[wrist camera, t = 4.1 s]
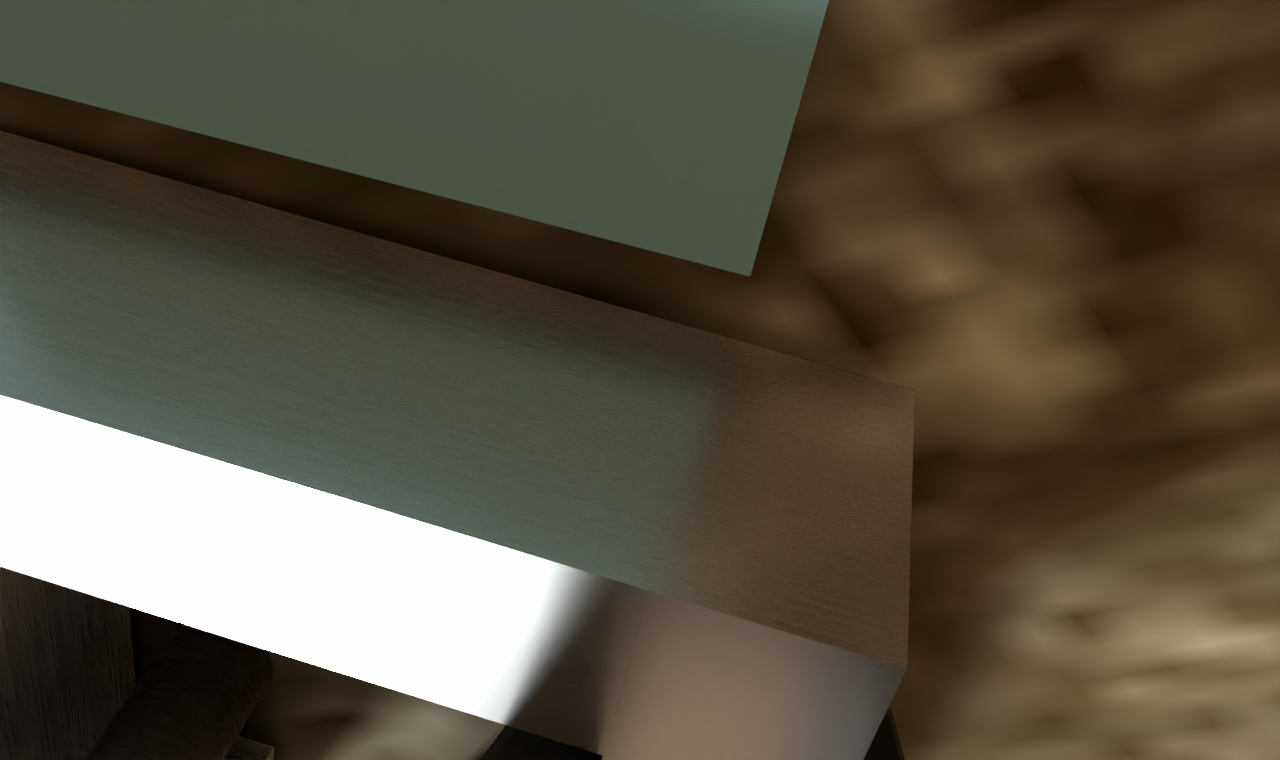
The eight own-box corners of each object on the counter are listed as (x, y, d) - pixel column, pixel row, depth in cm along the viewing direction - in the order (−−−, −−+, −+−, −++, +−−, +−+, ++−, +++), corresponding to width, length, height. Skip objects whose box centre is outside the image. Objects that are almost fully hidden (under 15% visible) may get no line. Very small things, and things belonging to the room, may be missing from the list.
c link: (31, 746, 17) (-156, 971, 14) (-79, 108, 11) (-429, 264, 8) (683, 958, 16) (628, 1242, 13) (914, 390, 11) (906, 668, 8)
